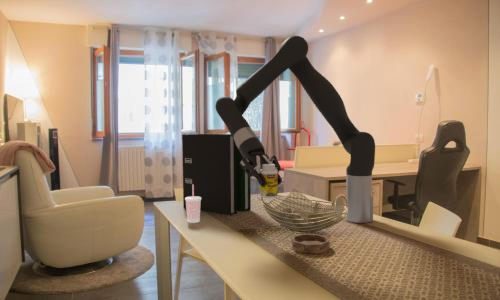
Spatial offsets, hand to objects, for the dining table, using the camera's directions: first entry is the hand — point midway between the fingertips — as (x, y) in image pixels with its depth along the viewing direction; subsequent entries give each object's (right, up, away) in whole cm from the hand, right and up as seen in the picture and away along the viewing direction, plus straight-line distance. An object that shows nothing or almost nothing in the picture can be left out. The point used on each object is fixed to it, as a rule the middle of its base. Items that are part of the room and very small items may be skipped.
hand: (272, 184), depth 120 cm
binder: (-21, -15, +48) cm, 55 cm away
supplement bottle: (-1, -4, +2) cm, 5 cm away
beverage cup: (-28, -17, +26) cm, 42 cm away
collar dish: (+11, -18, -6) cm, 22 cm away
